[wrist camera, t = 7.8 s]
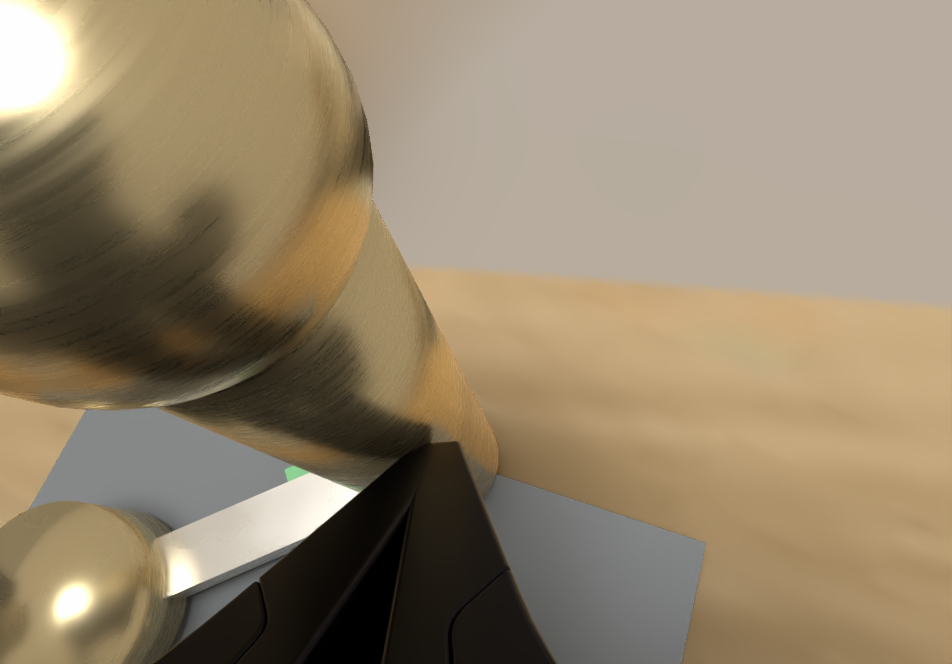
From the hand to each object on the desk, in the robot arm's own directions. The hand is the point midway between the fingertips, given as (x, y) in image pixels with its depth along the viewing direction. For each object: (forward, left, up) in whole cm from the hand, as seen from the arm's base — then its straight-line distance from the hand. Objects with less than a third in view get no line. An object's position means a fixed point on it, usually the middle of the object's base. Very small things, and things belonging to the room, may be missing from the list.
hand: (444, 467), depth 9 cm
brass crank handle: (+5, +2, -6) cm, 8 cm away
